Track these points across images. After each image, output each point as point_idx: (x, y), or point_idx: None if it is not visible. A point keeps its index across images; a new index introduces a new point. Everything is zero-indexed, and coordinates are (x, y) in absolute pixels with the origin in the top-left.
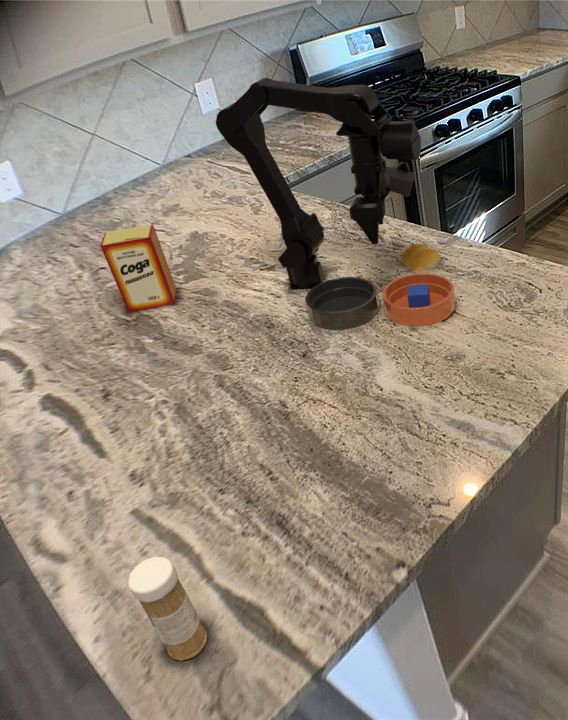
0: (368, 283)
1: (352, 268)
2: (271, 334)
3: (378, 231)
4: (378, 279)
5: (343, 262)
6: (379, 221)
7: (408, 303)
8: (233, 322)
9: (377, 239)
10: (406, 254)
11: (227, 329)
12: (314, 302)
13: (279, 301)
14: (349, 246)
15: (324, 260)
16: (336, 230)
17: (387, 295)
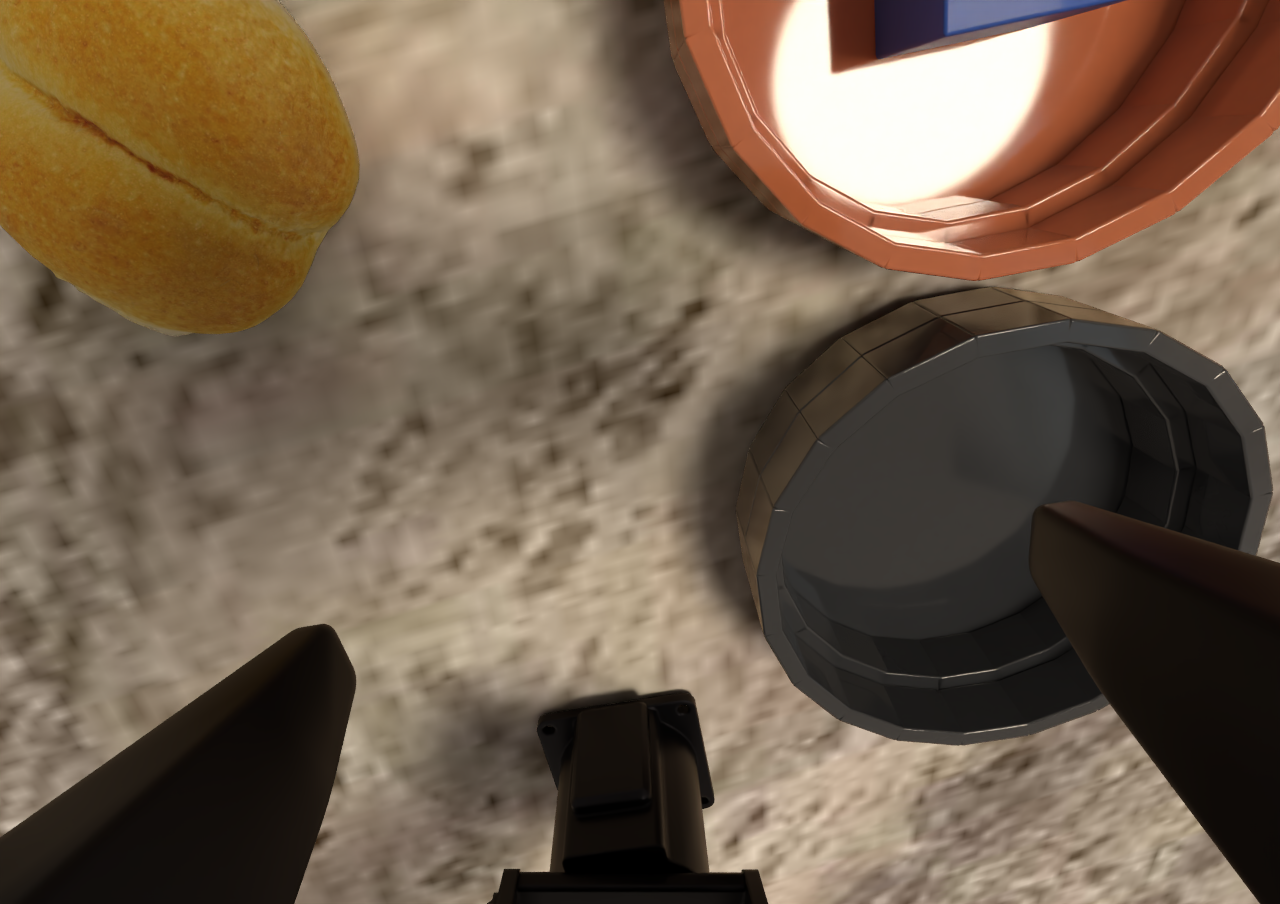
0: (847, 435)
1: (414, 606)
2: (1089, 737)
3: (1275, 605)
4: (518, 419)
5: (357, 670)
6: (327, 690)
7: (1086, 11)
8: (963, 881)
9: (1172, 533)
10: (224, 280)
11: (1014, 880)
12: (944, 673)
13: (797, 800)
14: (158, 698)
15: (364, 758)
16: (7, 809)
17: (952, 245)
